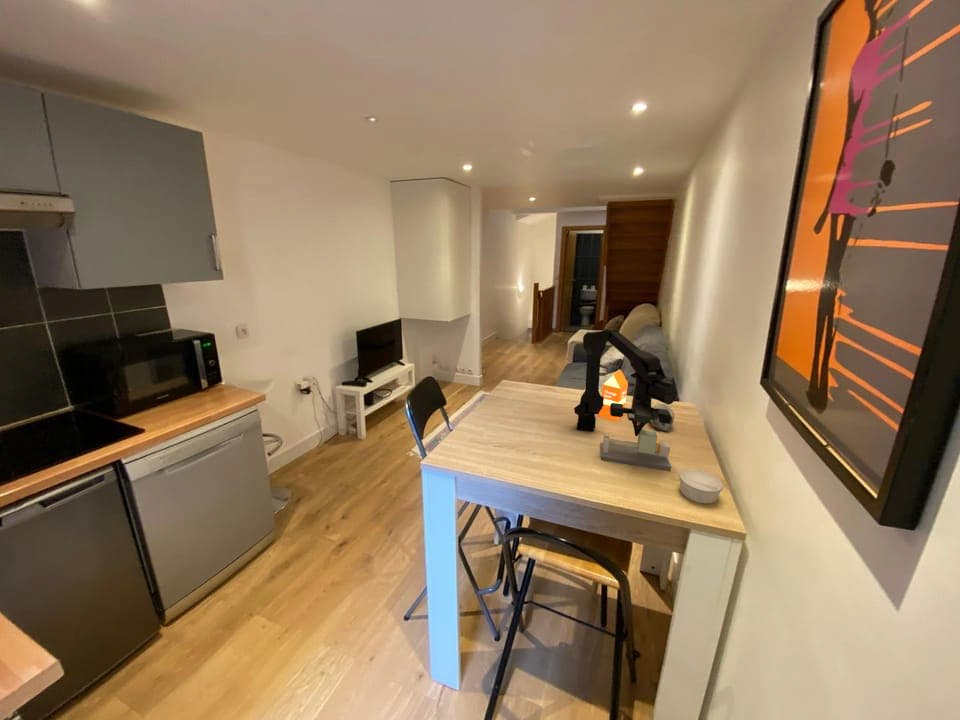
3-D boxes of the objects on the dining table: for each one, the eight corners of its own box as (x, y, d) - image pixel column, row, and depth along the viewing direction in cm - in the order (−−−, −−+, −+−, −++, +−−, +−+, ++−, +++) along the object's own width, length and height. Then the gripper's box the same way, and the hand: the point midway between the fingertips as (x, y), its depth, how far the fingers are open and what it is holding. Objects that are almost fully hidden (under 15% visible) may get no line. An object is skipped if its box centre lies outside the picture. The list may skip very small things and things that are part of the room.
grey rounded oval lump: (678, 428, 146) (669, 403, 148) (653, 434, 151) (644, 410, 152) (678, 423, 159) (669, 400, 160) (655, 428, 163) (646, 406, 164)
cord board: (600, 460, 129) (602, 442, 128) (599, 446, 139) (601, 429, 137) (670, 471, 124) (673, 452, 122) (664, 455, 133) (668, 438, 131)
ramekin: (688, 506, 107) (692, 490, 105) (669, 483, 118) (672, 468, 116) (728, 507, 107) (732, 491, 105) (705, 483, 118) (708, 468, 116)
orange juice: (598, 415, 164) (603, 372, 159) (606, 409, 171) (612, 367, 165) (616, 421, 159) (622, 376, 154) (624, 414, 166) (630, 371, 160)
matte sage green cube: (638, 452, 128) (641, 434, 126) (636, 445, 132) (639, 428, 130) (654, 454, 127) (657, 436, 125) (652, 447, 131) (655, 430, 129)
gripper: (614, 398, 119) (608, 442, 124) (679, 406, 115) (670, 451, 119) (612, 386, 130) (607, 427, 134) (671, 393, 125) (664, 436, 129)
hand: (636, 435), depth 129 cm, fingers closed
